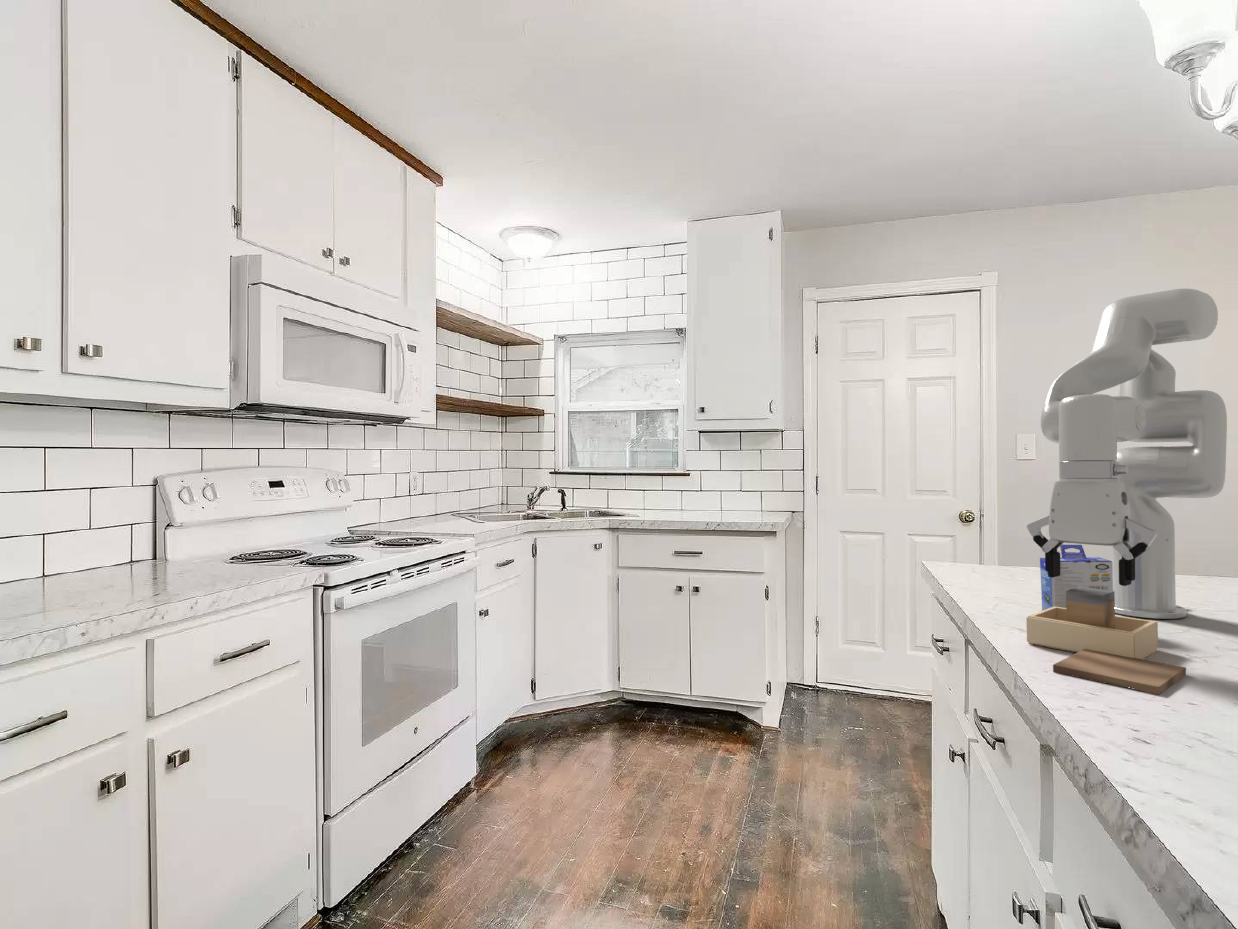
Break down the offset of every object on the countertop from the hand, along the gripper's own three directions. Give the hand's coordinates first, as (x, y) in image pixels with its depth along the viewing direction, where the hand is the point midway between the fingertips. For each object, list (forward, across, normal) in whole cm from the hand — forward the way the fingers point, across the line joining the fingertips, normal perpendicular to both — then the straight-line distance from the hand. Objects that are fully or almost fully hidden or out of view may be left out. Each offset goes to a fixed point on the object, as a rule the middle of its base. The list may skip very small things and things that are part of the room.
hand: (1088, 580), depth 104 cm
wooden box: (+11, 0, -1) cm, 11 cm away
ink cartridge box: (+11, +6, -13) cm, 18 cm away
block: (+11, 0, -1) cm, 11 cm away
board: (+11, -7, +10) cm, 17 cm away
